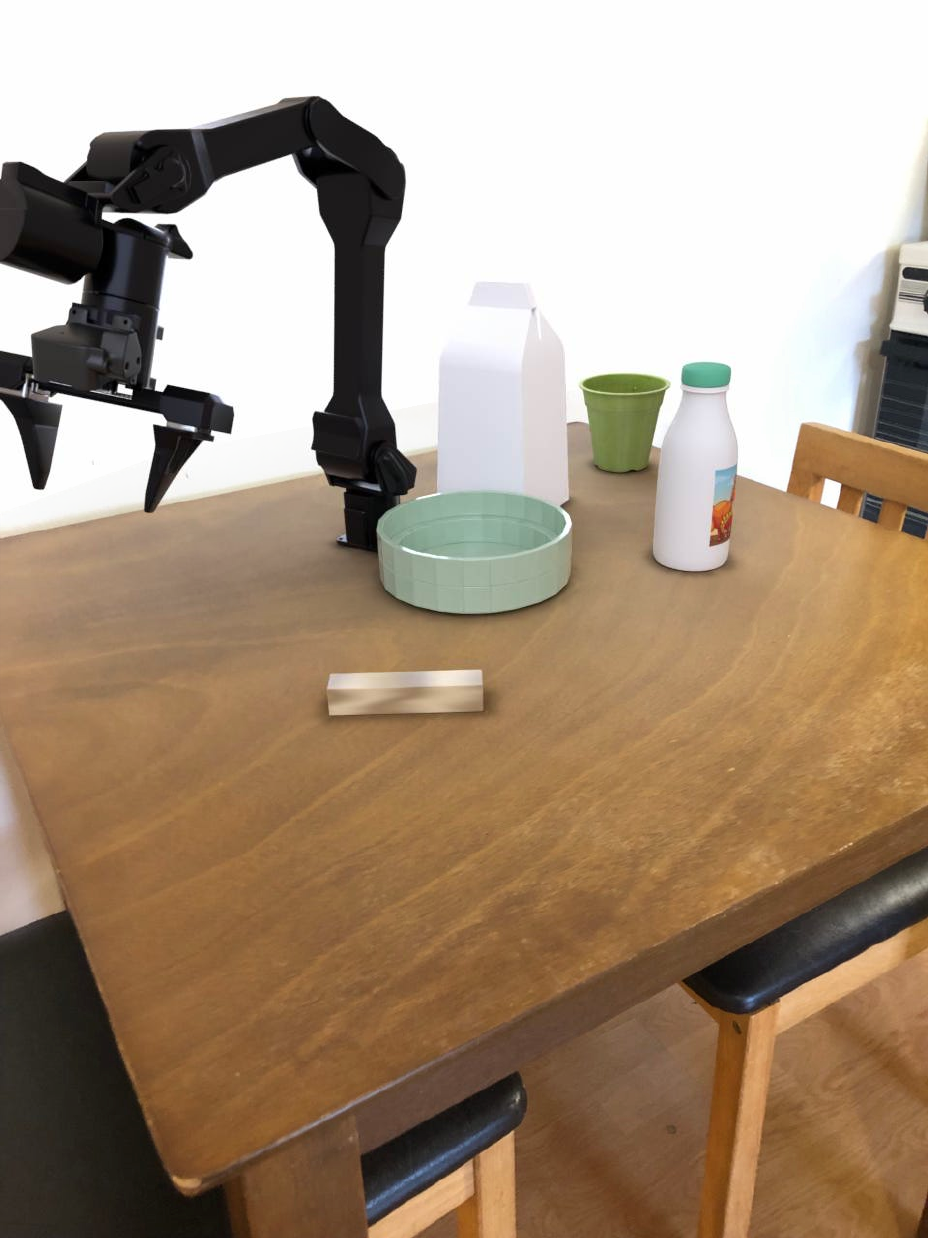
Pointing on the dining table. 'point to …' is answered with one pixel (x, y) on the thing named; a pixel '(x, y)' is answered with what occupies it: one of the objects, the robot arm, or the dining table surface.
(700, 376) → the milk bottle
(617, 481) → the dining table surface
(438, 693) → the stick
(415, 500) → the bowl
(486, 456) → the milk
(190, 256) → the robot arm
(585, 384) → the plant pot
